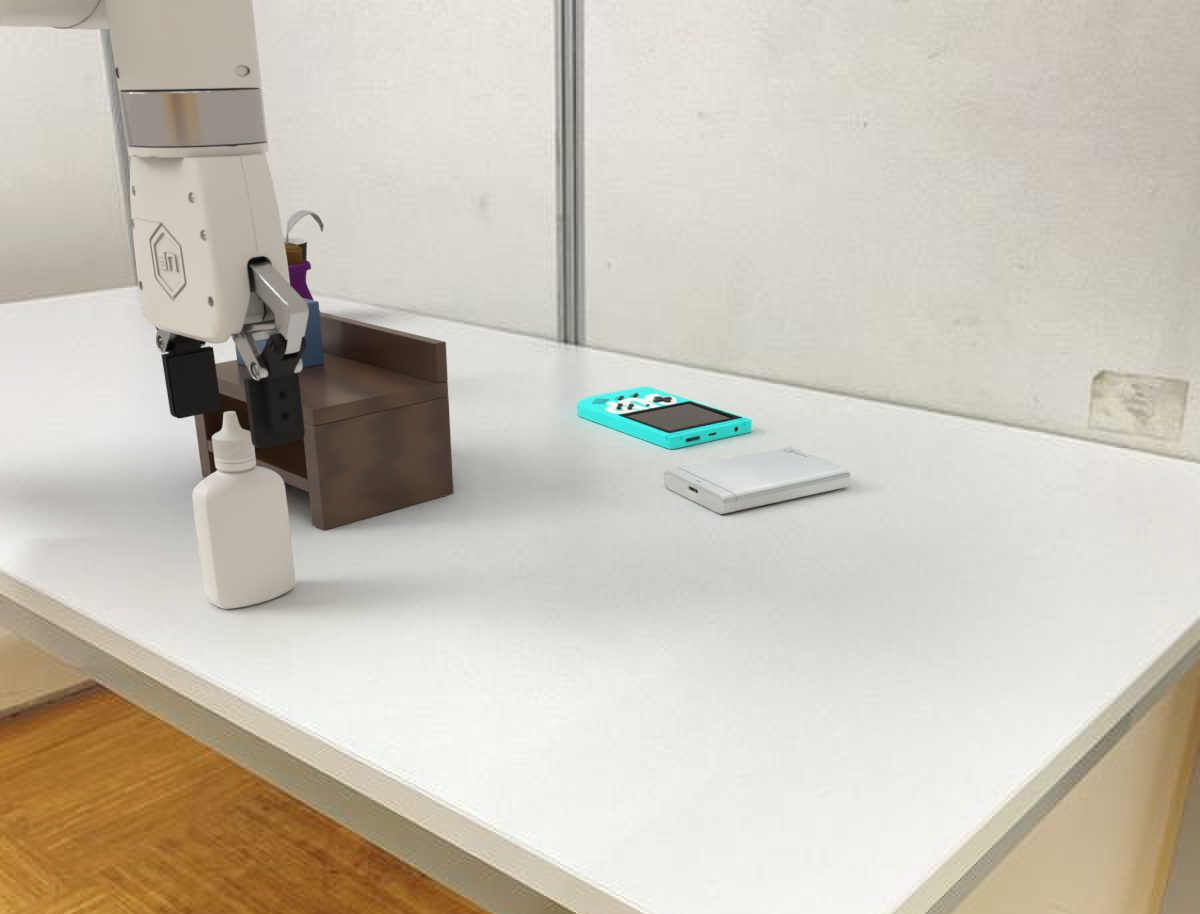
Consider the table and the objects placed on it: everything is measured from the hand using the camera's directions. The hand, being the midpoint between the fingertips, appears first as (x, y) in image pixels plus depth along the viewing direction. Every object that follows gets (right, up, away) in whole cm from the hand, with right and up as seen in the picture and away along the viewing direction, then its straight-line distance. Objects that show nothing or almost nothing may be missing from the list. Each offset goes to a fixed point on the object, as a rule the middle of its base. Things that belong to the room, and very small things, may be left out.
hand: (236, 427), depth 76 cm
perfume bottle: (-7, +11, +53) cm, 54 cm away
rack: (0, -1, +25) cm, 25 cm away
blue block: (-4, +9, +25) cm, 27 cm away
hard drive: (+34, -2, +24) cm, 42 cm away
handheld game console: (+28, +6, +43) cm, 51 cm away
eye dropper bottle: (0, -10, +5) cm, 11 cm away
